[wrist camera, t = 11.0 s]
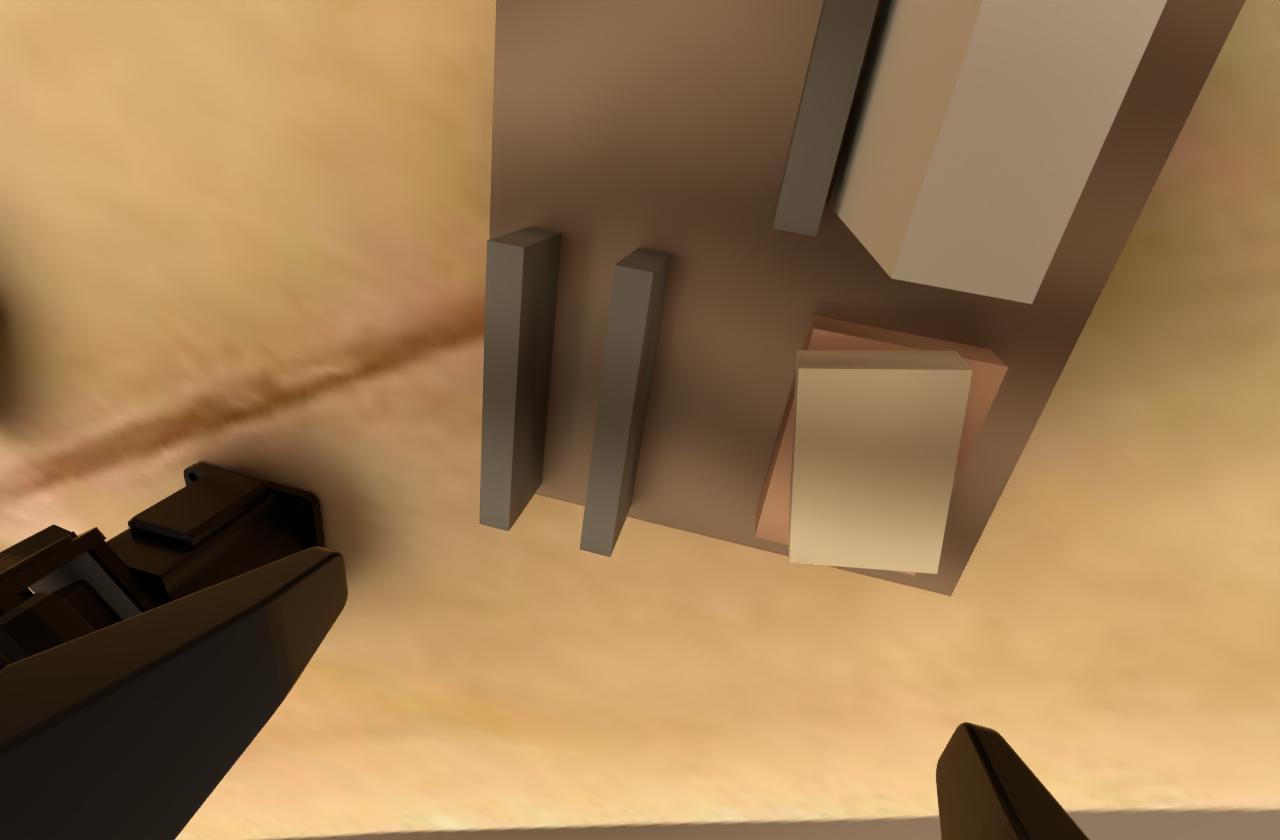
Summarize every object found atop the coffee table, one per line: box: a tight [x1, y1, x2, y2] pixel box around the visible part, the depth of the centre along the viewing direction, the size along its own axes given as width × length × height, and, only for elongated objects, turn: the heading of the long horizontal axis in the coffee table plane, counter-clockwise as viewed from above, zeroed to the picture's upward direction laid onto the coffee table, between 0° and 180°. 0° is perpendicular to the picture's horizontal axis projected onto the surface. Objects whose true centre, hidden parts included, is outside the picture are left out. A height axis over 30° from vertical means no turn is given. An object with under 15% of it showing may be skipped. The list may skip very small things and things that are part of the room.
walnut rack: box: [480, 0, 1245, 596], centre depth 16 cm, size 20×17×4 cm
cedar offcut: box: [755, 315, 1008, 576], centre depth 18 cm, size 7×5×2 cm
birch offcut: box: [788, 350, 973, 574], centre depth 16 cm, size 6×4×2 cm, turn 4°
